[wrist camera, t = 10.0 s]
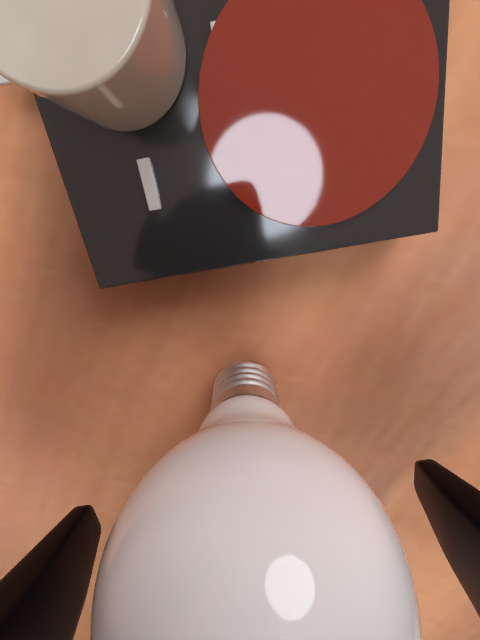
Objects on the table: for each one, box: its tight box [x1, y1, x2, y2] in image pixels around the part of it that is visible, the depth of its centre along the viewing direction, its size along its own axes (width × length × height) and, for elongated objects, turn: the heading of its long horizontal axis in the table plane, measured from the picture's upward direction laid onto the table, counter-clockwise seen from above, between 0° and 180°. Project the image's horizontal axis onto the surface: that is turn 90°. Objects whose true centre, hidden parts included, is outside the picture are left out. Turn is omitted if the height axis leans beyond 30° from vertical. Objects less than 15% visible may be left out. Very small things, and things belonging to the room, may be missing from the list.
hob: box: [0, 0, 450, 289], centre depth 9 cm, size 10×12×2 cm
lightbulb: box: [90, 361, 422, 640], centre depth 9 cm, size 6×6×11 cm
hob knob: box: [0, 0, 186, 132], centre depth 6 cm, size 4×4×4 cm
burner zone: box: [198, 0, 439, 227], centre depth 9 cm, size 6×6×1 cm
